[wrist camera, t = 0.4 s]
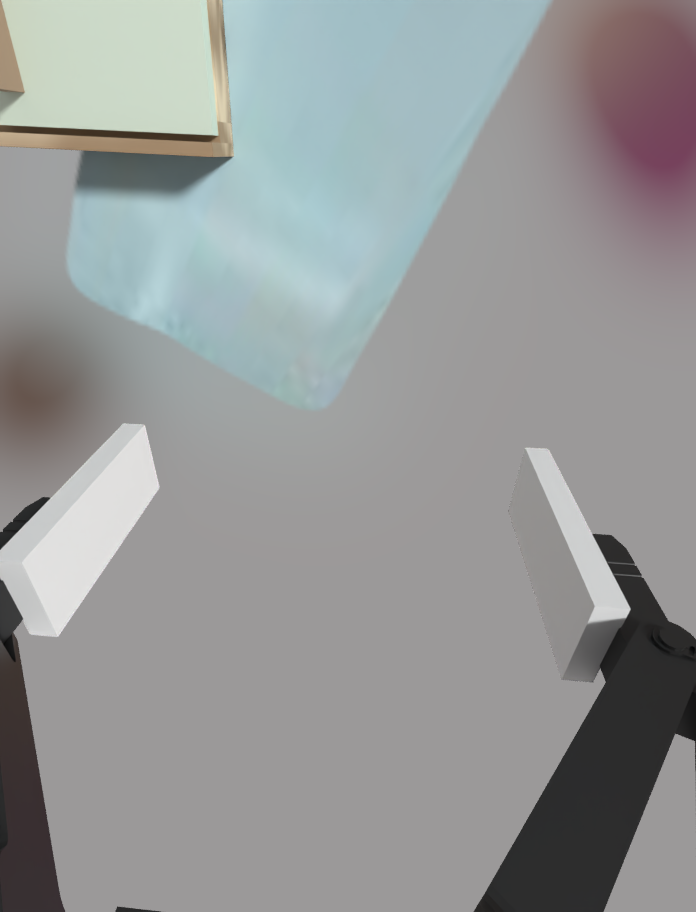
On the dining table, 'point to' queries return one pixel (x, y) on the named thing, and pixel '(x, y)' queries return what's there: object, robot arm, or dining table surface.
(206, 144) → the box
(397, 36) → the dining table surface
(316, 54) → the dining table surface
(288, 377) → the dining table surface
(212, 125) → the lid
